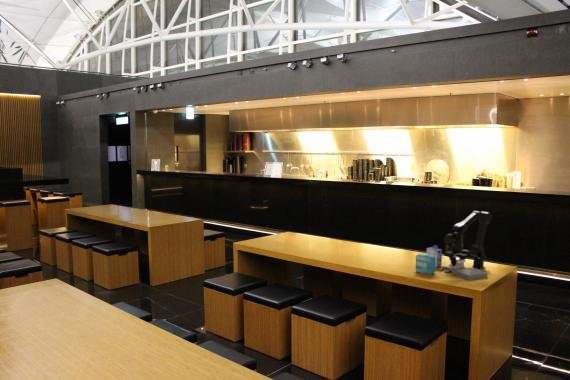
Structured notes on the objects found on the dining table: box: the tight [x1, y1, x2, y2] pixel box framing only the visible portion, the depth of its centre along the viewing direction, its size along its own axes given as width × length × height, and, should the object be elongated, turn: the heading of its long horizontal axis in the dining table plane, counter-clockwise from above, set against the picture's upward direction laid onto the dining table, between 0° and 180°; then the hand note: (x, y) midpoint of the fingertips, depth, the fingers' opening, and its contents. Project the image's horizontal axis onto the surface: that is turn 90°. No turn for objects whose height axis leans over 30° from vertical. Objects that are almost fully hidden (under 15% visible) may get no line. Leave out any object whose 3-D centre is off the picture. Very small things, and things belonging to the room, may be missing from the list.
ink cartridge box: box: [426, 244, 443, 268], centre depth 341 cm, size 10×6×14 cm, turn 33°
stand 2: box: [451, 266, 489, 281], centre depth 316 cm, size 16×15×3 cm
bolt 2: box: [443, 269, 453, 274], centre depth 324 cm, size 6×2×2 cm, turn 114°
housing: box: [448, 256, 466, 269], centre depth 329 cm, size 6×9×6 cm, turn 24°
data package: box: [414, 253, 436, 275], centre depth 323 cm, size 12×4×12 cm, turn 53°
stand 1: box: [444, 265, 455, 271], centre depth 329 cm, size 11×11×2 cm
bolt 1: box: [438, 265, 446, 272], centre depth 329 cm, size 6×2×2 cm, turn 139°
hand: (456, 265), depth 329 cm, fingers closed on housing, 6 cm apart
